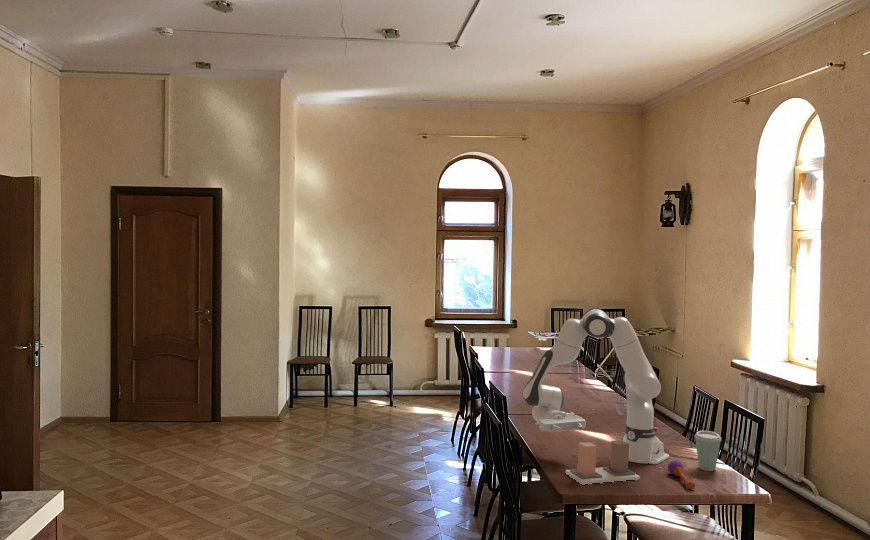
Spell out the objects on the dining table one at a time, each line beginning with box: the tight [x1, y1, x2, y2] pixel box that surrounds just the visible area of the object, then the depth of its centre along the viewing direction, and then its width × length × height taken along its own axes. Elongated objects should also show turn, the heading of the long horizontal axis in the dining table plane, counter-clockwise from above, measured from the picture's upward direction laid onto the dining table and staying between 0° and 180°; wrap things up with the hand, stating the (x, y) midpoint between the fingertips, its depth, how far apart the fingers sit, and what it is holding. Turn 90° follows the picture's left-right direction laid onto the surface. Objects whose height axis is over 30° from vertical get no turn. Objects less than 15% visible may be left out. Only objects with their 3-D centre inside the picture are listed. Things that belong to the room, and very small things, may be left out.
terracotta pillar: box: [576, 441, 597, 476], centre depth 275 cm, size 5×5×12 cm
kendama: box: [667, 460, 696, 490], centre depth 277 cm, size 6×6×20 cm
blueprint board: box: [565, 439, 641, 486], centre depth 278 cm, size 26×13×14 cm, turn 108°
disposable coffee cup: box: [694, 430, 722, 472], centre depth 293 cm, size 11×11×15 cm
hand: (571, 429), depth 289 cm, fingers open, 8 cm apart
